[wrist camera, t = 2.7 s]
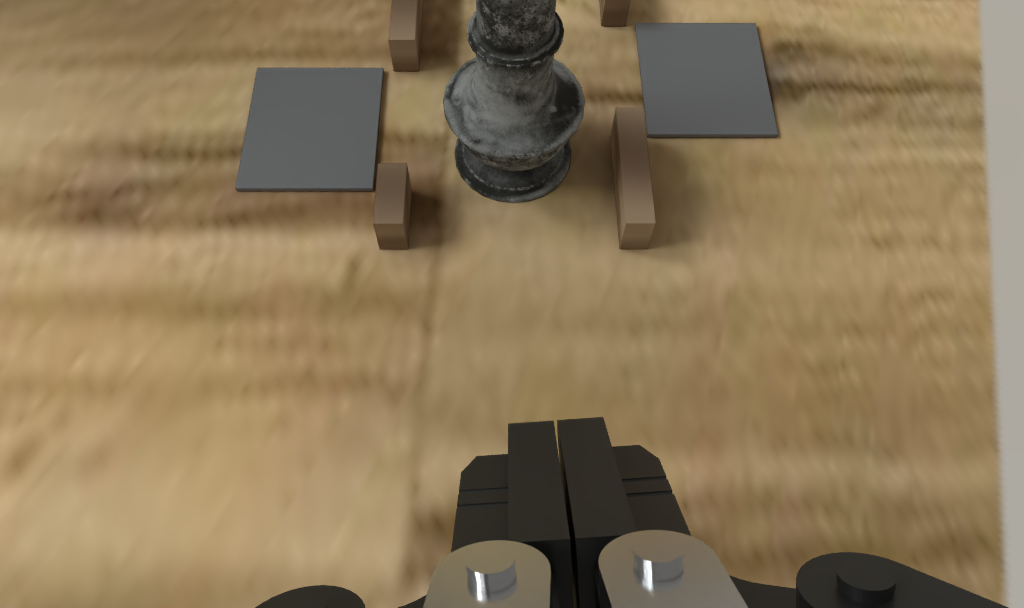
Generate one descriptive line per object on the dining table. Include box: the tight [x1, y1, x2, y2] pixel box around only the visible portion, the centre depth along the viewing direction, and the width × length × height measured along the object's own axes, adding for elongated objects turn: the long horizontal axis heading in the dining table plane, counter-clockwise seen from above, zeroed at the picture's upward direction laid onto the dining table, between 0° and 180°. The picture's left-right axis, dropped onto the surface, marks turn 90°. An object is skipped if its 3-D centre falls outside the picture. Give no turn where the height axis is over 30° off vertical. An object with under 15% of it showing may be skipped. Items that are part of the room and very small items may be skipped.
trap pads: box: [235, 23, 778, 191], centre depth 37 cm, size 10×24×1 cm, turn 90°
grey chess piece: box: [443, 0, 585, 203], centre depth 31 cm, size 6×6×12 cm
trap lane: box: [373, 0, 656, 249], centre depth 37 cm, size 22×11×3 cm, turn 0°
